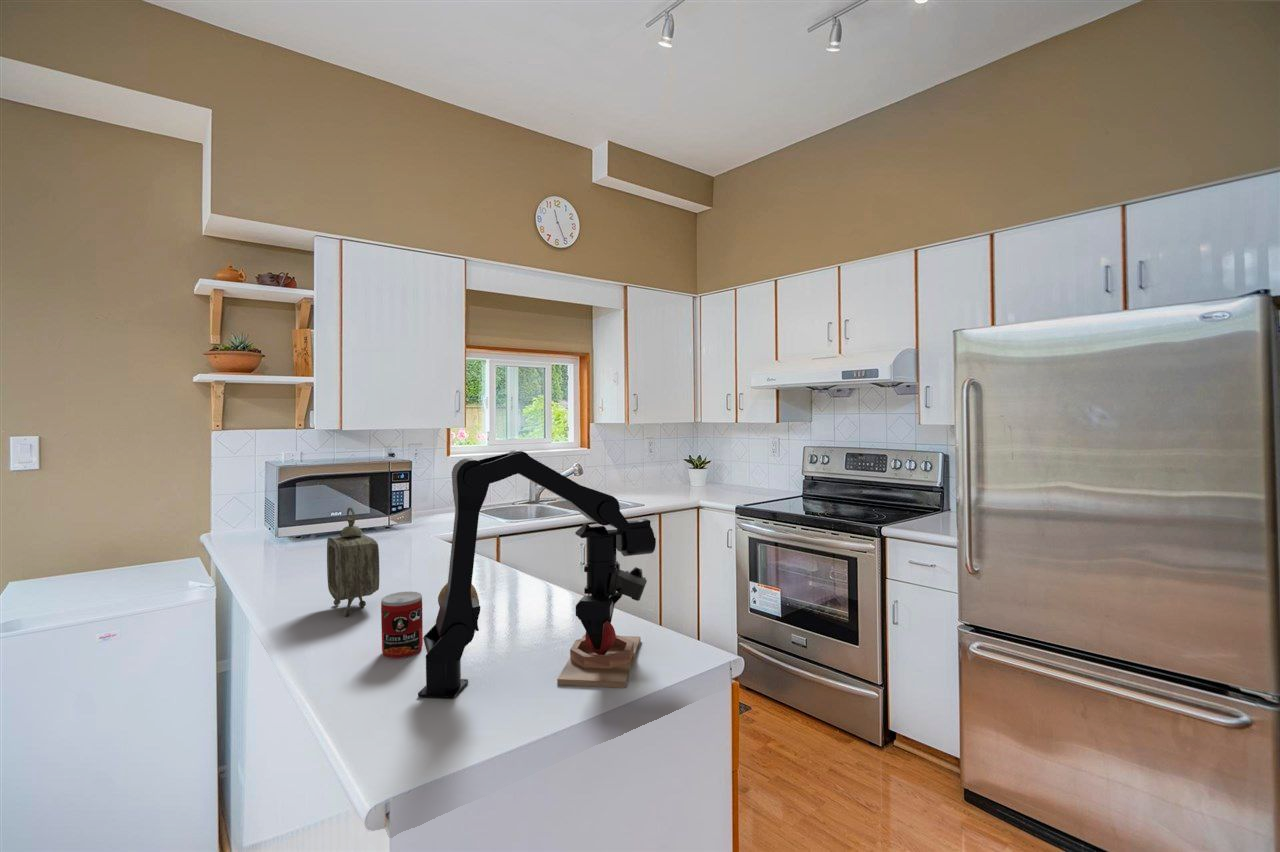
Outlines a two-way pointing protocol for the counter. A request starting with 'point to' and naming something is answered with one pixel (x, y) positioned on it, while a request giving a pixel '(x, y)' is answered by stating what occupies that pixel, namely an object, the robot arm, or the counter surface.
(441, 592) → the natural sponge
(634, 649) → the onion holder
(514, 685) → the counter surface
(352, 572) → the tabletop clock
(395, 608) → the canned food
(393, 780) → the counter surface
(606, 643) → the onion
